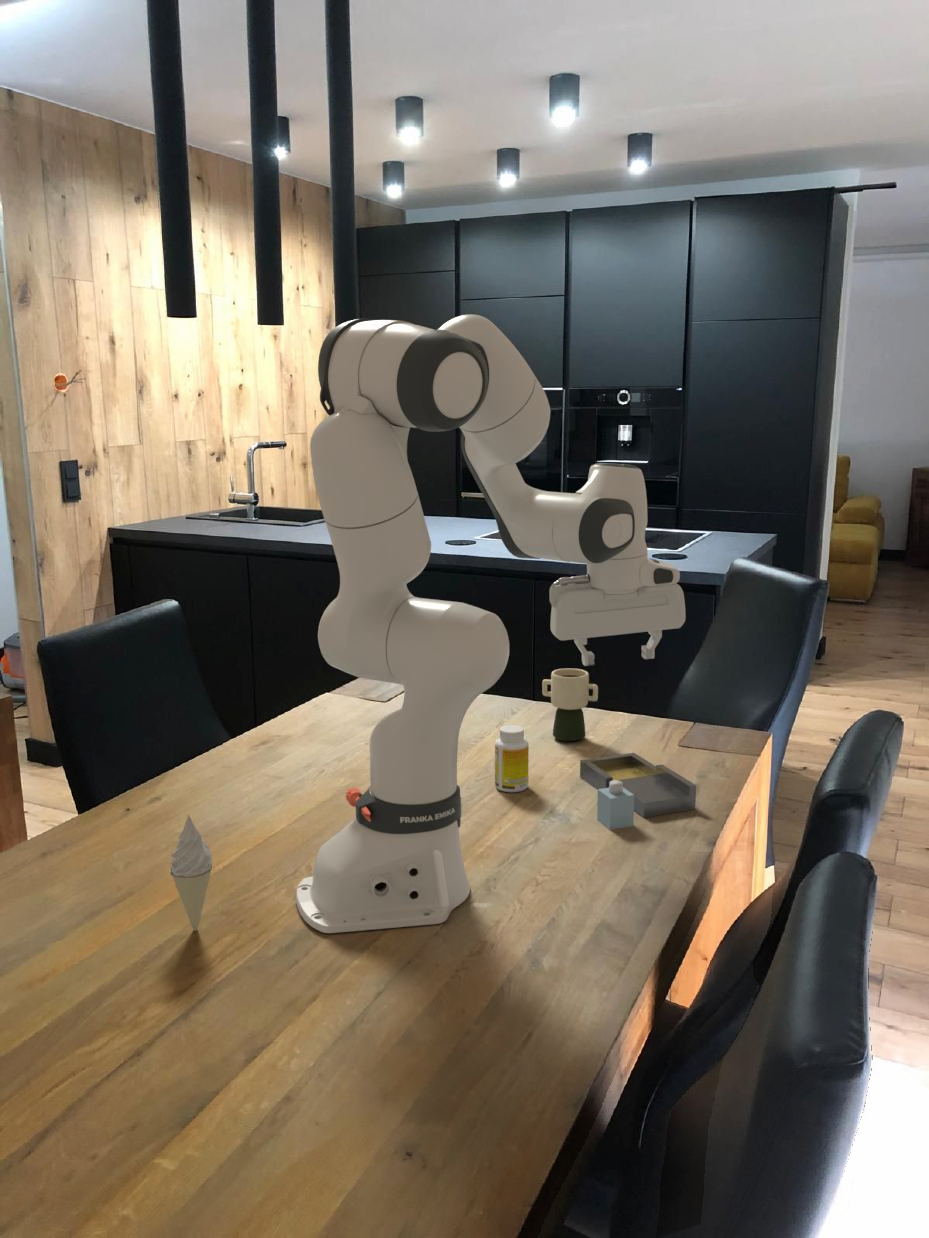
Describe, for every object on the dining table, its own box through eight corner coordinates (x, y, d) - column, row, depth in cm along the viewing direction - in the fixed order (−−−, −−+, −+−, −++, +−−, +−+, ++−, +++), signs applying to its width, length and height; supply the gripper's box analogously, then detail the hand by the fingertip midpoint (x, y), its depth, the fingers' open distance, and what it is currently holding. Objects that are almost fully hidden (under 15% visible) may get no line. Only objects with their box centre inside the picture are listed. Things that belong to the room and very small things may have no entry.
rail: (636, 818, 153) (637, 794, 152) (580, 776, 170) (580, 754, 170) (695, 809, 156) (696, 785, 156) (633, 768, 174) (634, 747, 173)
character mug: (601, 736, 191) (603, 670, 189) (591, 747, 185) (593, 680, 182) (547, 729, 195) (548, 665, 193) (535, 740, 189) (536, 674, 186)
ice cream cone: (196, 944, 118) (188, 825, 114) (164, 934, 120) (156, 817, 117) (225, 925, 122) (218, 810, 119) (194, 915, 124) (187, 802, 121)
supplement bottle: (535, 788, 166) (535, 729, 163) (510, 796, 162) (510, 736, 160) (512, 778, 170) (513, 721, 168) (487, 786, 166) (487, 728, 164)
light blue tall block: (609, 830, 149) (610, 789, 148) (597, 819, 153) (598, 779, 151) (633, 826, 150) (634, 785, 149) (620, 816, 154) (621, 776, 153)
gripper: (554, 583, 142) (557, 675, 146) (690, 570, 146) (689, 660, 149) (543, 574, 148) (546, 662, 152) (673, 561, 152) (673, 648, 155)
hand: (618, 661), depth 151 cm, fingers open, 8 cm apart
